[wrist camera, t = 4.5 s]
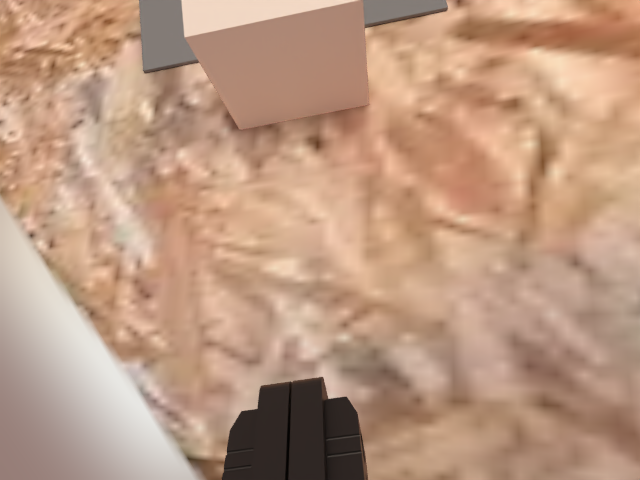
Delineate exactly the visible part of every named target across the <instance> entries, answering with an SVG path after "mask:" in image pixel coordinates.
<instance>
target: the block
mask: <svg viewBox="0 0 640 480" xmlns="http://www.w3.org/2000/svg"><path fill="white" fill-rule="evenodd" d="M181 2H182V14H183V26H184V37H185V39H186V41H187V42H188V44H189V46H190V47H191V49H192V51H193V53H194V54H195V56H196V58H197V59H198V61H199V63H200V64H201V66H202V68H203V69H204V71H205V73H206V74H207V76H208V78H209V79H210V81H211V83H212V84H213V86H214V88H215V89H216V91H217V93H218V94H219V96H220V98H221V99H222V101H223V103H224V104H225V106H226V108H227V109H228V111H229V113H230V114H231V116H232V118H233V119H234V121H235V123H236V124H237V126H238V128H239V130H242V129H248V128H253V127H258V126H263V125H268V124H273V123H278V122H284V121H289V120H294V119H299V118H304V117H309V116H314V115H319V114H325V113H330V112H335V111H340V110H345V109H350V108H355V107H361V106H366V105H369V93H368V75H367V58H366V41H365V24H364V7H363V0H181Z"/></svg>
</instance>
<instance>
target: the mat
mask: <svg viewBox="0 0 640 480" xmlns="http://www.w3.org/2000/svg"><path fill="white" fill-rule="evenodd" d="M139 6H140V24H141V41H142V59H143V71H144V72H145V73H148V72H152V71H157V70H162V69H167V68H172V67H176V66H181V65H186V64H191V63H196V62H199V61H198V59H197V58H196V56H195V54H194V53H193V51H192V49H191V47H190V46H189V44H188V42H187V41H186V39H185V37H184V26H183V14H182V2H181V0H139ZM363 7H364V24H365V27H369V26H374V25H379V24H384V23H388V22H393V21H398V20H403V19H408V18H412V17H417V16H422V15H427V14H432V13H437V12H441V11H446V10H447V9H448V6H447V2H446V0H363Z"/></svg>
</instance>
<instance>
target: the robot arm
mask: <svg viewBox="0 0 640 480" xmlns="http://www.w3.org/2000/svg"><path fill="white" fill-rule="evenodd" d="M222 480H368V474H367V465H366V457H365V451H364V445H363V440H362V435H361V430H360V425H359V419H358V414H357V412H356V410H355V409H354V407H353V406H352V404H351V403H350V401H349V400H348V398H347V397H341V398H333V399H328V396H327V391H326V387H325V383H324V379H323V377H319V378H312V379H305V380H298V381H293V382H285V383H277V384H270V385H263V386H261V387H260V392H259V401H258V409H255V410H248V411H241V413H240V415H239V416H238V418H237V420H236V421H235V423H234V425H233V426H232V428H231V430H230V434H229V440H228V446H227V455H226V458H225V464H224V473H223V477H222Z"/></svg>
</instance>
